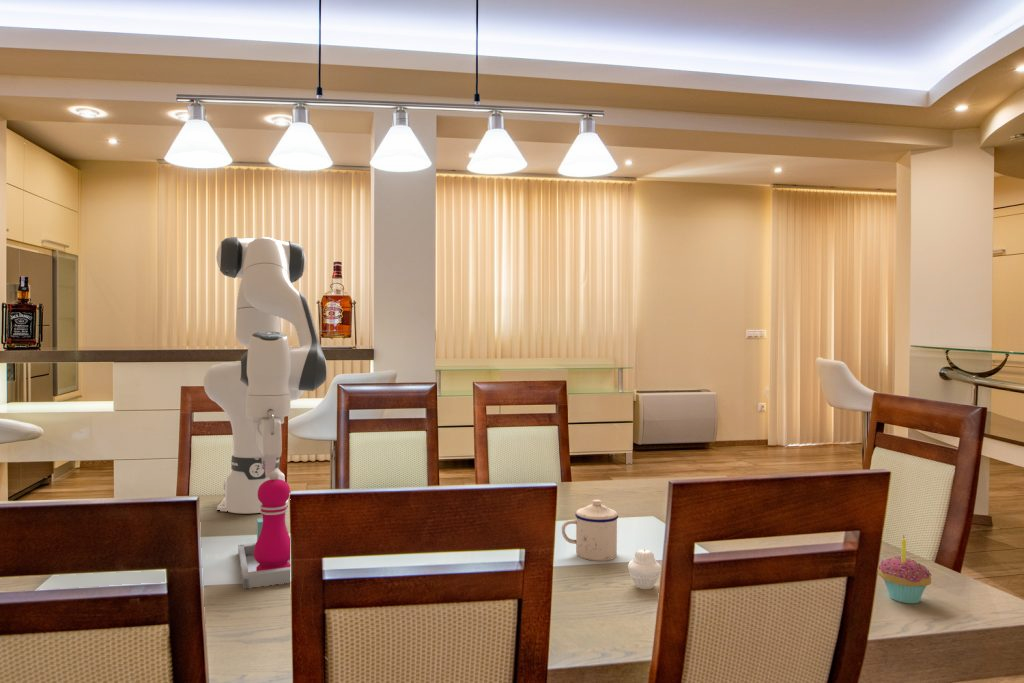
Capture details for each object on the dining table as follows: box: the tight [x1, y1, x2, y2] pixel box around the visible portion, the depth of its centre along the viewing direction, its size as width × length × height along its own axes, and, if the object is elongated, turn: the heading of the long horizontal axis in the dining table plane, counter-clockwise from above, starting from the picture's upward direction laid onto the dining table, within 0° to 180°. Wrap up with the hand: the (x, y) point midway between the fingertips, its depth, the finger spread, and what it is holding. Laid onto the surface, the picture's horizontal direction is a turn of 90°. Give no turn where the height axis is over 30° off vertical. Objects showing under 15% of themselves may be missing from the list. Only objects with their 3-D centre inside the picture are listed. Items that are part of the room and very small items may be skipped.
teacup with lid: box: [561, 499, 619, 562], centre depth 146 cm, size 12×9×12 cm
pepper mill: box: [253, 471, 291, 571], centre depth 132 cm, size 7×7×20 cm
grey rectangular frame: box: [237, 517, 291, 590], centre depth 136 cm, size 22×11×7 cm, turn 24°
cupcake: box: [877, 534, 932, 604], centre depth 123 cm, size 9×8×12 cm
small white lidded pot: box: [627, 548, 662, 590], centre depth 127 cm, size 6×6×7 cm
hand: (268, 472), depth 145 cm, fingers open, 8 cm apart
